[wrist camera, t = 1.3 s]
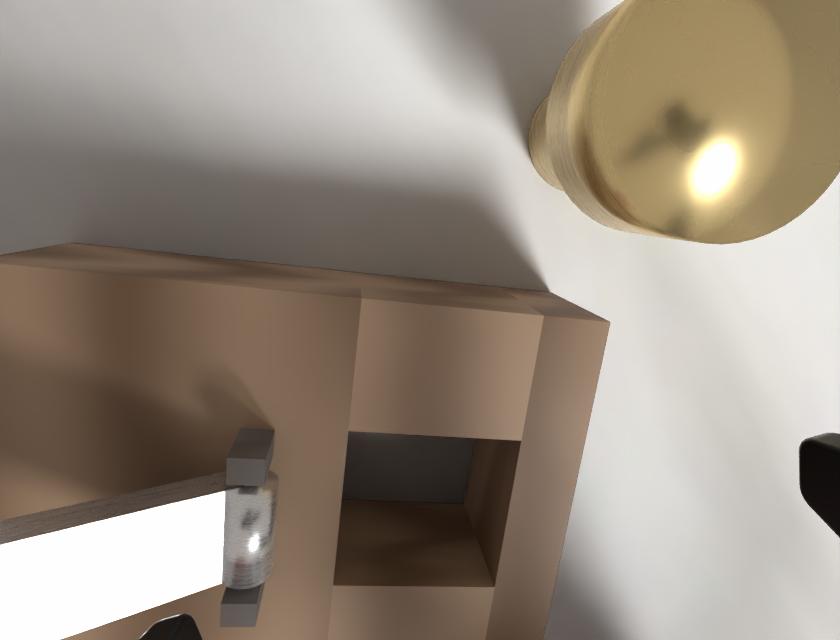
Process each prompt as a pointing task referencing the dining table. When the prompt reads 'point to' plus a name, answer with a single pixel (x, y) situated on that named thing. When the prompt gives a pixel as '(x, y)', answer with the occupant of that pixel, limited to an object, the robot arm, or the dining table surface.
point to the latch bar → (132, 553)
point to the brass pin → (696, 117)
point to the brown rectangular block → (304, 428)
